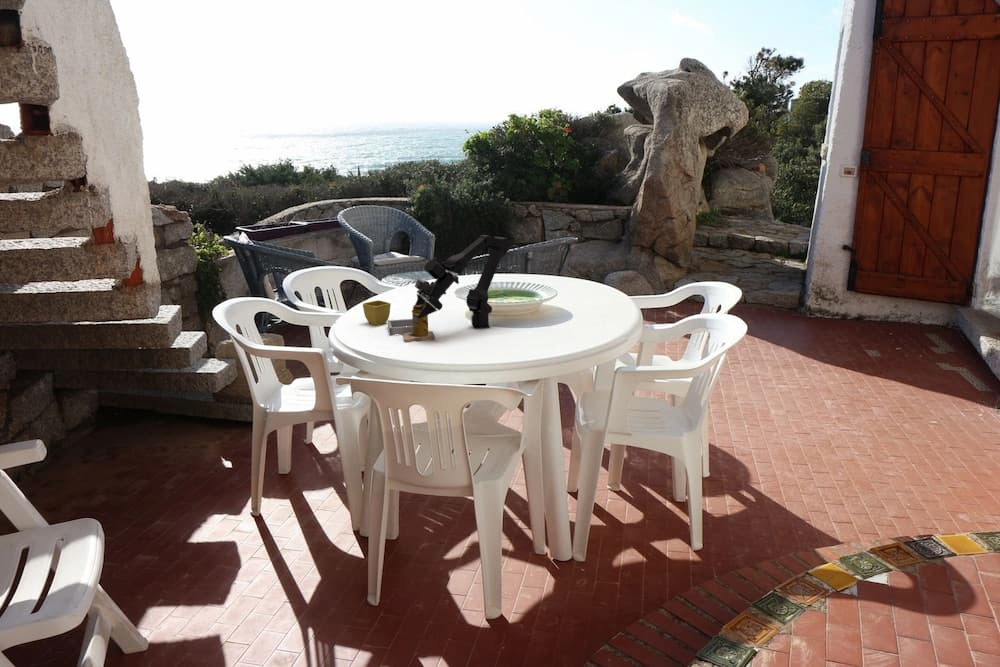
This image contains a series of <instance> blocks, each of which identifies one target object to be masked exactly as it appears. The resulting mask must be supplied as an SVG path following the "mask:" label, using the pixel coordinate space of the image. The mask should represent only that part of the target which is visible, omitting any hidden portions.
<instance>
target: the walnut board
mask: <svg viewBox="0 0 1000 667" xmlns="http://www.w3.org/2000/svg"><path fill="white" fill-rule="evenodd" d="M412 333H413V332H412ZM428 333H429V334H431V336H426V337H420V338H414V339H413V338H411V337H409V336H407V335H406V334H410V333H403V335H402V338H404V339H403V342H404V343H412V342H411V341H416V342H426V341H425V340H430V341H436V337H435V334H434V332H433V330H428Z"/></svg>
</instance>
